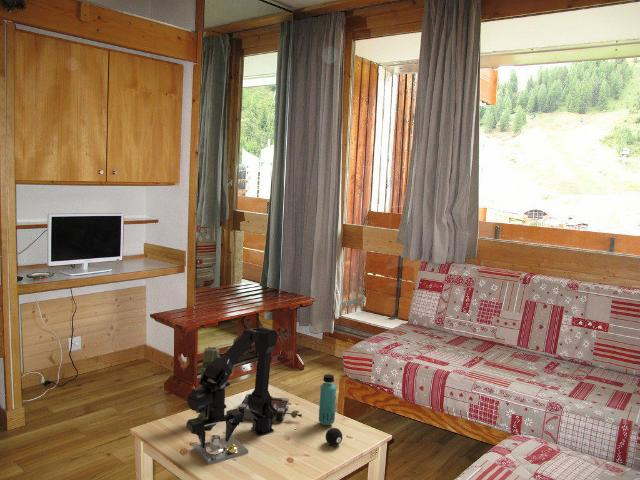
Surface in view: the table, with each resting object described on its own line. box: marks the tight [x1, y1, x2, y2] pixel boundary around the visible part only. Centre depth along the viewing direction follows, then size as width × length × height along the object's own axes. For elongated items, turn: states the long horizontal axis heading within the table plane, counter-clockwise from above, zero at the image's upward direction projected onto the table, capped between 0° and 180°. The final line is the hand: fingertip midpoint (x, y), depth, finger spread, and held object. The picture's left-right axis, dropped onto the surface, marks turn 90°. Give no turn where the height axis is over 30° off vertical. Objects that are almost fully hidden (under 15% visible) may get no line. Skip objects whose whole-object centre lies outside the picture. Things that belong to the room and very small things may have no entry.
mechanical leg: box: [197, 346, 221, 431], centre depth 208 cm, size 14×7×30 cm, turn 179°
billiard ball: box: [325, 427, 343, 447], centre depth 197 cm, size 6×6×6 cm
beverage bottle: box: [318, 373, 337, 426], centre depth 212 cm, size 6×7×20 cm
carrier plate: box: [193, 435, 249, 466], centre depth 189 cm, size 15×12×4 cm
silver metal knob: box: [206, 434, 224, 455], centre depth 185 cm, size 6×6×6 cm
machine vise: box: [237, 393, 303, 424], centre depth 219 cm, size 15×25×5 cm, turn 83°
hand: (214, 444), depth 185 cm, fingers open, 8 cm apart
